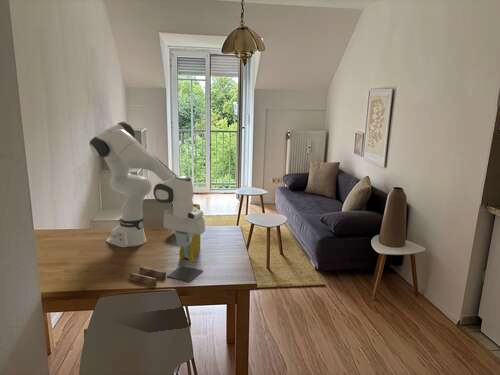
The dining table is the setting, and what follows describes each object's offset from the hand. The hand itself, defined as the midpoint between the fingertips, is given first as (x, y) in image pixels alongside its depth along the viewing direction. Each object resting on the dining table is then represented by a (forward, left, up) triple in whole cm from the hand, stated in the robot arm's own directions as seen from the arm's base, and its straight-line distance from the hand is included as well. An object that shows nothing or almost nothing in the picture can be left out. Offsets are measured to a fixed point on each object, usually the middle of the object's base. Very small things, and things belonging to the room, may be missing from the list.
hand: (183, 240), depth 171 cm
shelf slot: (-13, -11, -17) cm, 24 cm away
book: (-10, +22, -17) cm, 30 cm away
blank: (0, 0, -2) cm, 2 cm away
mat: (0, 0, -17) cm, 17 cm away
